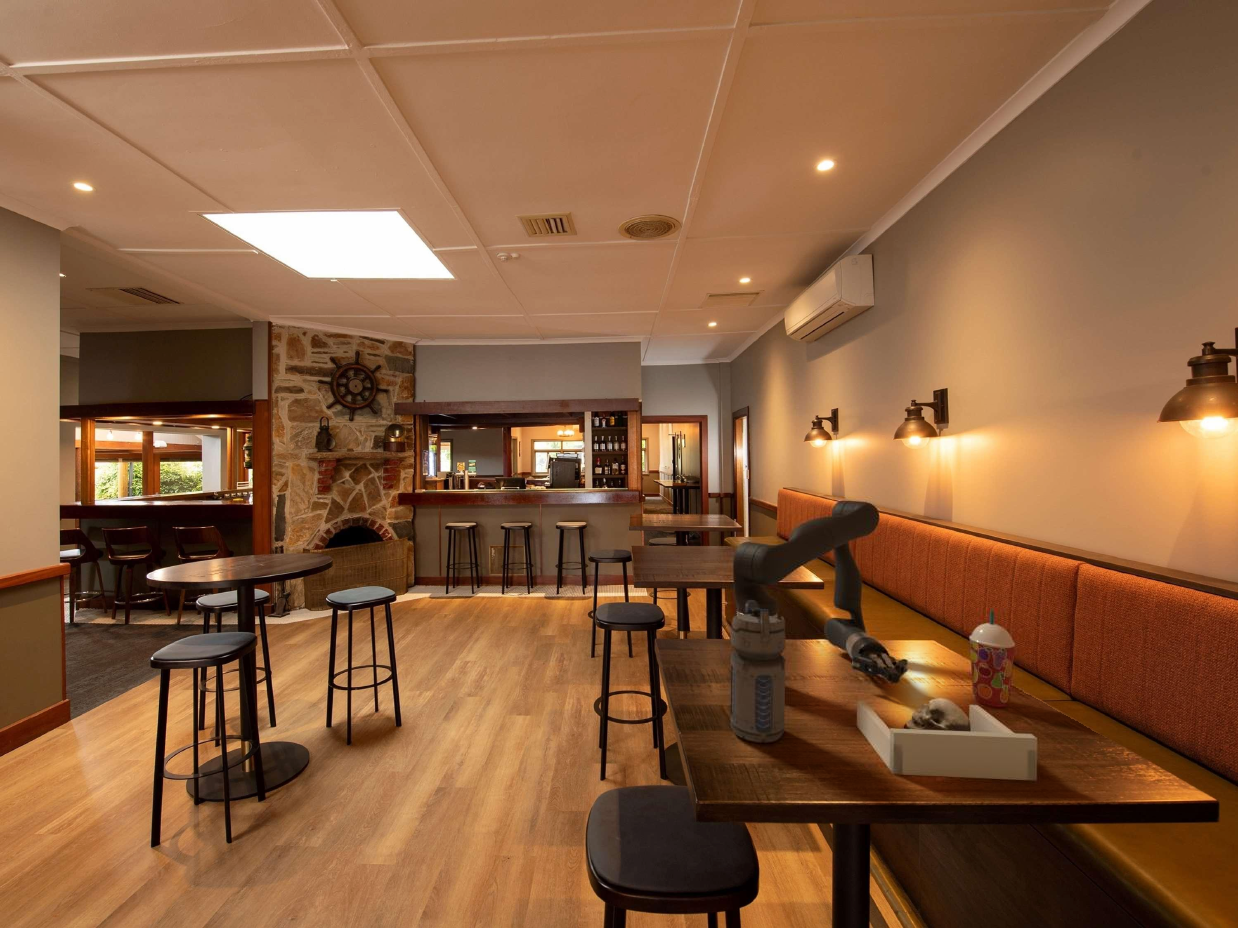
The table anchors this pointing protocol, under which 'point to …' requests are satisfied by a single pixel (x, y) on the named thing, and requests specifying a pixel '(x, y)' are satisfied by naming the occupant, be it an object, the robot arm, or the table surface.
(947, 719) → the skull
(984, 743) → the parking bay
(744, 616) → the beverage bottle
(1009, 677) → the smoothie
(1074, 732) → the table surface
